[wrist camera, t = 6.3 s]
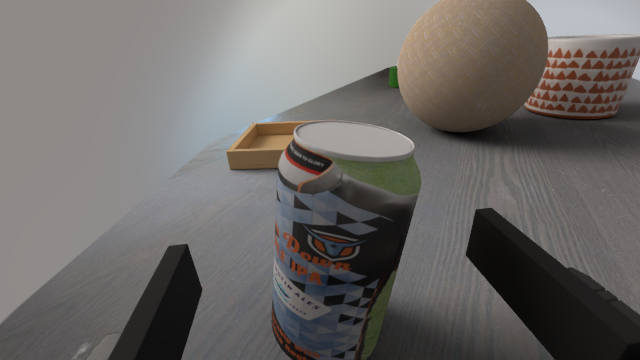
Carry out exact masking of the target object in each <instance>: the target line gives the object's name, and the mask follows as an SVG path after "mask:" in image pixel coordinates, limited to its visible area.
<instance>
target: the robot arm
mask: <svg viewBox="0 0 640 360" xmlns="http://www.w3.org/2000/svg"><path fill="white" fill-rule="evenodd" d="M466 256H467V257H468V258H469V260H470V261H471V262H472V263H473V264H474V265H475V267H476V268H477V269H478V270H479V271H480V272H481V274H482V275H483V276H484V277H485V278H486V279H487V281H488V282H489V283H490V284H491V285H492V286H493V288H494V289H495V290H496V291H497V292H498V293H499V295H500V296H501V297H502V298H503V299H504V301H505V302H506V303H507V304H508V305H509V306H510V308H511V309H512V310H513V311H514V312H515V313H516V315H517V316H518V317H519V318H520V319H521V320H522V322H523V323H524V324H525V325H526V326H527V327H528V329H529V330H530V331H531V332H532V333H533V334H534V336H535V337H536V338H537V339H538V340H539V341H540V343H541V344H542V345H543V346H544V347H545V348H546V350H547V351H548V352H549V353H550V354H551V355H552V357H553V358H554V359H555V360H640V315H639V314H638V313H636V312H635V311H634V310H632V309H631V308H630V307H629V306H627V305H626V304H625V303H623V302H622V301H619V300H618V298H617V297H616V296H614V295H613V294H612V293H610V292H609V291H606V290H605V288H604V287H603V286H601V285H600V284H599V283H597V282H596V281H595V280H593V279H592V278H591V277H589V276H587V275H586V274H584V273H582V272H580V271H578V270H576V269H574V268H572V267H571V268H566V267H564V266H563V265H562V264H561V263H560V262H558V261H557V260H556V259H555V258H553V257H552V256H551V255H550V254H548V253H547V252H546V251H545V250H543V249H542V248H541V247H540V246H538V245H537V244H536V243H535V242H533V241H532V240H531V239H530V238H528V237H527V236H526V235H525V234H523V233H522V232H521V231H520V230H518V229H517V228H516V227H515V226H513V225H512V224H511V223H510V222H508V221H507V220H506V219H505V218H503V217H502V216H501V215H500V214H498V213H497V212H496V211H495V210H493V209H492V208H485V209H477V210H476V212H475V216H474V221H473V225H472V229H471V234H470V238H469V243H468V247H467V252H466ZM201 293H202V287H201V284H200V281H199V278H198V275H197V272H196V269H195V266H194V263H193V260H192V257H191V254H190V251H189V248H188V245H187V244H182V245H173V246H169V247H168V248H167V250H166V252H165V254H164V256H163V258H162V260H161V261H160V263H159V265H158V267H157V269H156V271H155V272H154V274H153V276H152V278H151V280H150V282H149V284H148V285H147V287H146V289H145V291H144V293H143V295H142V297H141V298H140V300H139V302H138V304H137V306H136V308H135V310H134V311H133V313H132V315H131V317H130V319H129V321H128V323H127V324H126V326H125V328H124V330H123V332H118V333H111V334H107V335H106V336H105V337H104V338H103V339H102V340H101V341H100V342H99V343H98V344H97V345H96V346H95V347H94V348H93V349H92V350H91V352H90V354H89V355H88V357H87V359H86V360H181V358H182V355H183V351H184V348H185V345H186V342H187V339H188V335H189V332H190V329H191V326H192V322H193V319H194V316H195V313H196V310H197V306H198V303H199V300H200V297H201Z"/></svg>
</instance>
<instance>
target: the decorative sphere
mask: <svg viewBox="0 0 640 360" xmlns="http://www.w3.org/2000/svg"><path fill="white" fill-rule="evenodd" d="M547 58H548V37H547V32H546V28H545V26H544V23H543V21H542V19H541V17H540V15H539V14H538V12H537V11H536V10H535V8H534V7H533V6H532V5H531V4H530V3H528V2H527V1H526V0H441V1H440V2H438V3H437V4H435V5H434V6H433V7H431V8H430V9H429V10H428V11H427V12H425V13H424V14H423V15H422V17H420V19H419V20H418V21H417V22H416V23H415V25H414V26H413V27H412V29H411V30H410V32H409V34H408V36H407V37H406V39H405V41H404V44H403V46H402V49H401V52H400V56H399V61H398V70H397V73H398V84H399V89H400V92H401V95H402V97H403V99H404V101H405V103H406V105H407V106H408V108H409V109H410V110H411V112H412V113H413V114H414V115H415V116H416V117H418V118H419V119H420V120H421V121H423V122H424V123H426V124H428V125H430V126H432V127H434V128H437V129H440V130H444V131H449V132H471V131H476V130H481V129H484V128H487V127H490V126H492V125H495V124H497V123H499V122H501V121H502V120H504V119H506V118H507V117H509V116H510V115H512V114H513V113H514V112H516V111H517V110H518V109H519V108H520V107H521V106H522V105H523V104H524V103H525V102H526V101H527V100H528V99H529V98H530V96H531V95H532V94H533V92H534V91H535V89H536V88H537V86H538V84H539V82H540V80H541V78H542V76H543V73H544V70H545V67H546V63H547Z"/></svg>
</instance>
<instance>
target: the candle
mask: <svg viewBox="0 0 640 360" xmlns="http://www.w3.org/2000/svg"><path fill="white" fill-rule="evenodd" d="M397 70H398V63H397V66H393V67H390V80H389V86H390V87H394V88H399V84H398V73H397Z"/></svg>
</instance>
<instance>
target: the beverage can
mask: <svg viewBox="0 0 640 360" xmlns="http://www.w3.org/2000/svg"><path fill="white" fill-rule="evenodd" d="M414 151H415V145H414V143H413V142H412V141H411V140H410V139H409V138H408V137H406V136H404V135H402V134H400V133H398V132H395V131H392V130H390V129H386V128H383V127H379V126H375V125H370V124H365V123H359V122H351V121H340V120H321V121H311V122H306V123H303V124H300V125H299V126H297V127H296V128H295V130H294V138H293V140H292V141H291V142H290V143H289V145H288V146H287V147H286V148H285V150H284V151H283V153H282V155H281V157H280V159H279V163H278V180H277V204H276V228H275V252H274V276H273V301H272V328H273V333H274V335H275V338H276V340H277V342H278V344H279V345H280V347H281V349H282V350H283V351H284V352H285V353H286V354H287V355H288V356H289V357H290V358H291V359H293V360H366V359H367V358H368V357H369V355H370V354H371V353H372V352H373V350H374V348H375V346H376V344H377V341H378V337H379V334H380V330H381V326H382V323H383V319H384V316H385V312H386V309H387V305H388V301H389V298H390V294H391V291H392V287H393V283H394V280H395V276H396V273H397V269H398V266H399V262H400V258H401V255H402V251H403V248H404V244H405V240H406V237H407V233H408V230H409V226H410V223H411V219H412V215H413V212H414V208H415V205H416V201H417V197H418V194H419V190H420V187H421V177H420V172H419V169H418V166H417V164H416V161H415V159H414V157H413V153H414Z"/></svg>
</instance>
